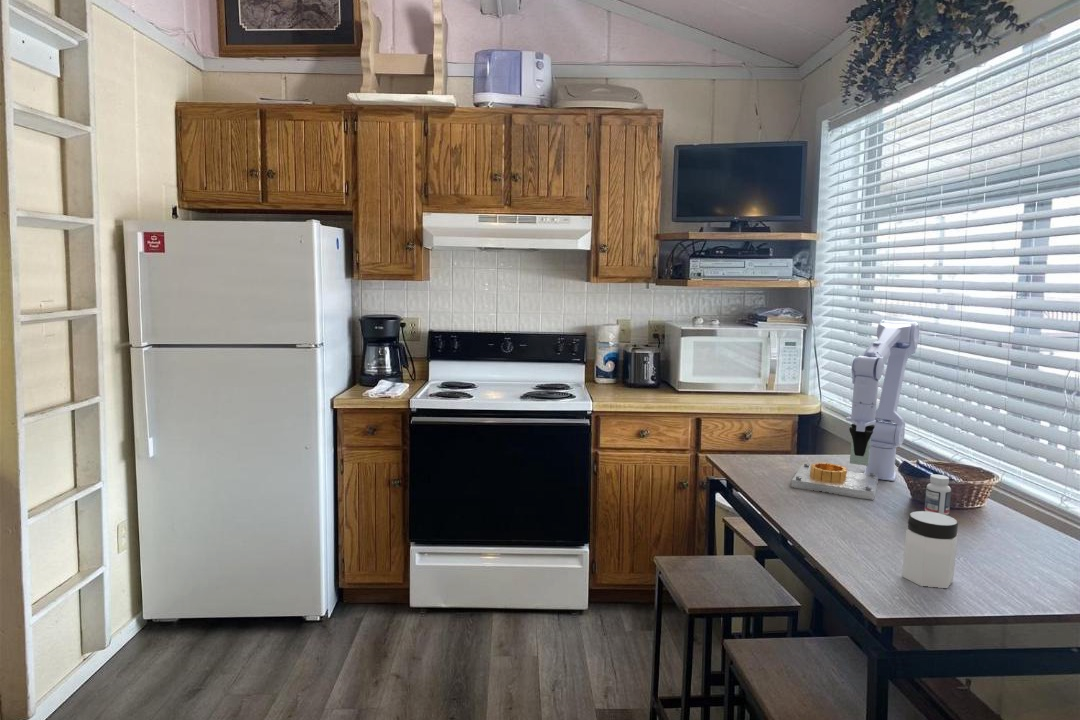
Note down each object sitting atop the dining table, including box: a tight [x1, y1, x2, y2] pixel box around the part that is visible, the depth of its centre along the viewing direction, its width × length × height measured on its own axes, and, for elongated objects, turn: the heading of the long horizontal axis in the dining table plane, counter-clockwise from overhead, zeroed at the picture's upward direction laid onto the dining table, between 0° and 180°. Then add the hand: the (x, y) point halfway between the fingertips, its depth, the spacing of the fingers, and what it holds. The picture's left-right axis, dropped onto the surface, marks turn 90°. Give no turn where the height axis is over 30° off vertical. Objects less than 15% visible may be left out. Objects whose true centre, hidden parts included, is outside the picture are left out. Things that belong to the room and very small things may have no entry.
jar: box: [901, 510, 959, 589], centre depth 140 cm, size 9×8×12 cm
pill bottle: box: [924, 473, 952, 516], centre depth 180 cm, size 5×5×9 cm
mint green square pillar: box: [849, 436, 871, 466], centre depth 195 cm, size 4×4×8 cm
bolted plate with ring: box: [791, 462, 879, 501], centre depth 201 cm, size 18×20×4 cm
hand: (859, 453), depth 195 cm, fingers closed on mint green square pillar, 4 cm apart
